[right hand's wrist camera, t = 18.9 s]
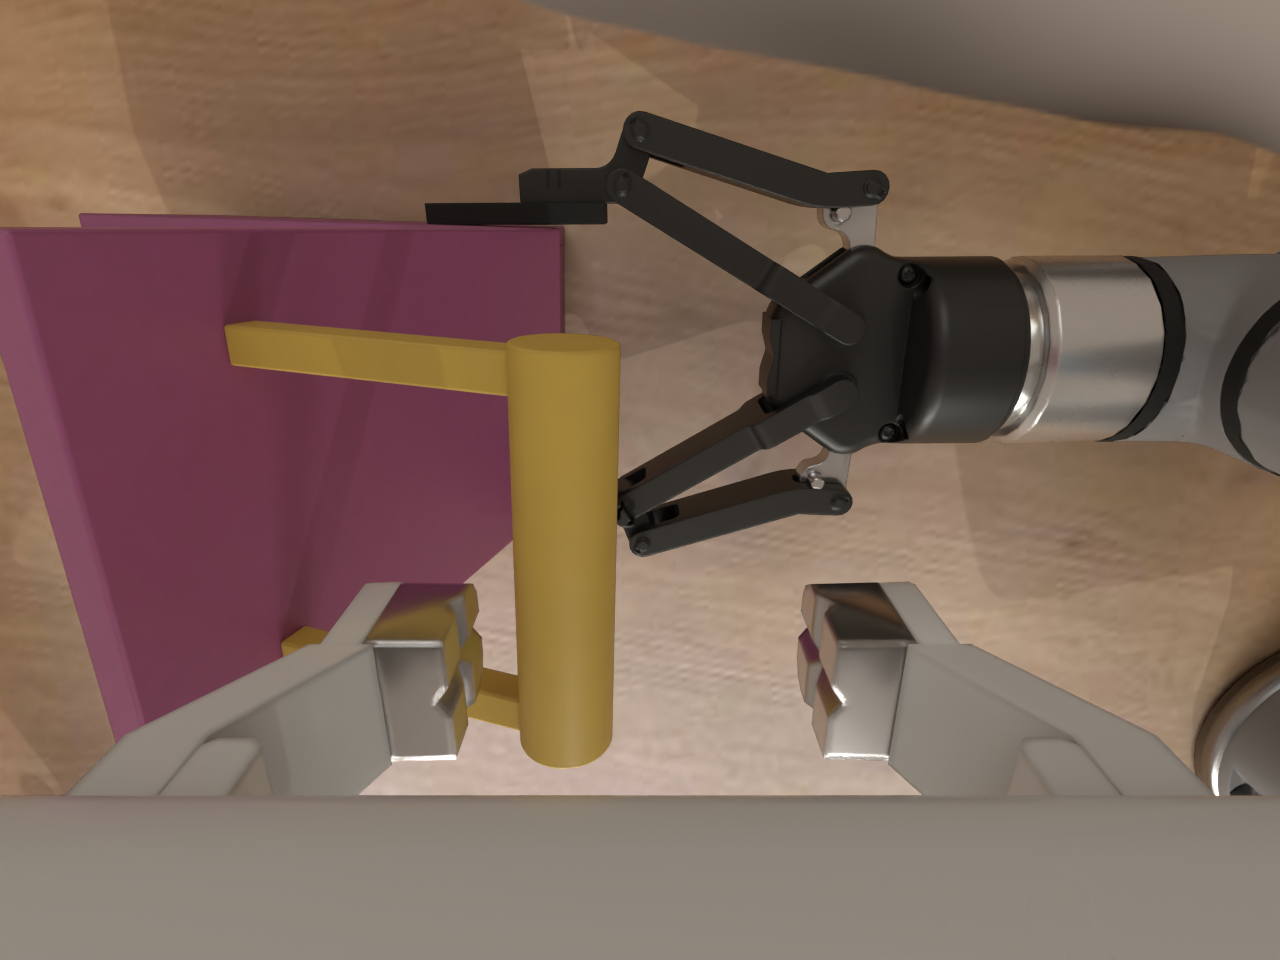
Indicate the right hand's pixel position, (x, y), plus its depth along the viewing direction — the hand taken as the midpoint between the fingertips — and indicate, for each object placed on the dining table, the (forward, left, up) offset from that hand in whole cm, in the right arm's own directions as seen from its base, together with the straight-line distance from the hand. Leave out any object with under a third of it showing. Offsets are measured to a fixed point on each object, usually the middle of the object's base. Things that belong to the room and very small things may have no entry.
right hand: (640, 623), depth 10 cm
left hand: (-7, +3, -20) cm, 21 cm away
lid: (-6, +2, -9) cm, 11 cm away
